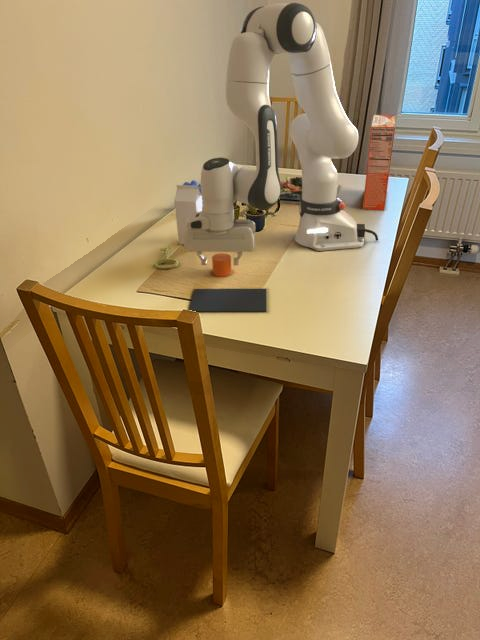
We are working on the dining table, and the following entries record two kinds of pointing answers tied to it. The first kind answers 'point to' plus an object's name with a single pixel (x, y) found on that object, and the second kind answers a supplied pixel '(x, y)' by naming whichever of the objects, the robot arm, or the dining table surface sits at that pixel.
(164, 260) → the key
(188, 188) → the milk carton
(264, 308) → the mat
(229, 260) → the cylinder
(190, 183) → the grapes
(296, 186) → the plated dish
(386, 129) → the red cereal box
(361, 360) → the dining table surface
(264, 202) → the robot arm
